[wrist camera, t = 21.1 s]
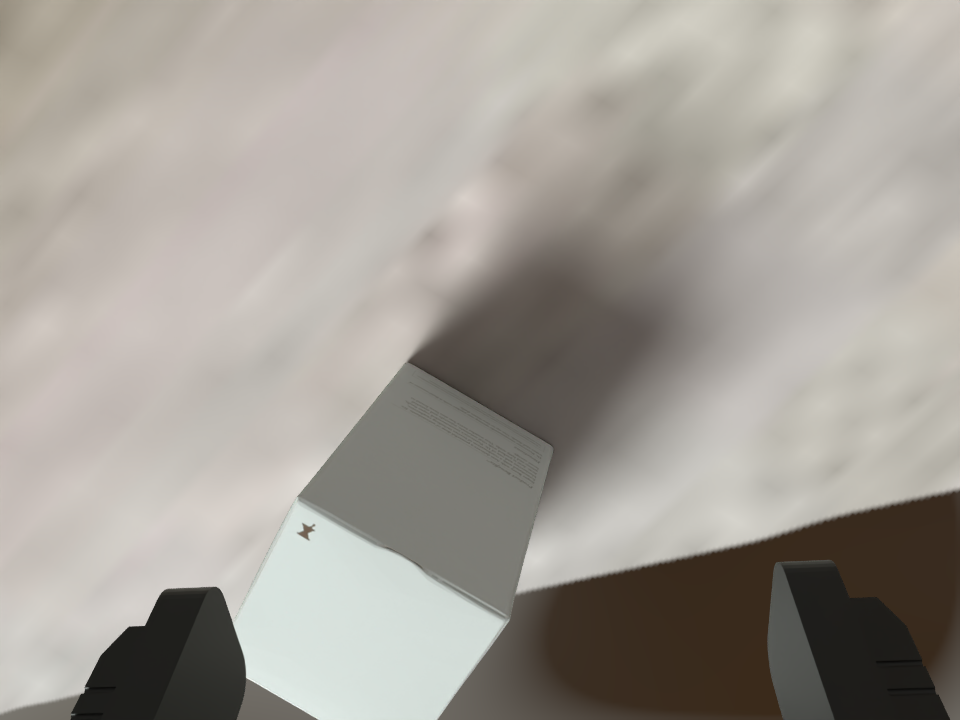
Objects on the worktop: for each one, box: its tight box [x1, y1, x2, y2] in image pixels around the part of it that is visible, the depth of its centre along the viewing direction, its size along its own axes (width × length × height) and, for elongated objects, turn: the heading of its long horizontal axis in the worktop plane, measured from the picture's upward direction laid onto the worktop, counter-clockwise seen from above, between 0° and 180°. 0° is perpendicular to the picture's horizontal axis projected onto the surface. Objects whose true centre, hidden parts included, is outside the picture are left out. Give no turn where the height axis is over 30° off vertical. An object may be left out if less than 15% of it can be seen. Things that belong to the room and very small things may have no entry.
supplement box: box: [233, 363, 553, 720], centre depth 40 cm, size 9×9×15 cm
